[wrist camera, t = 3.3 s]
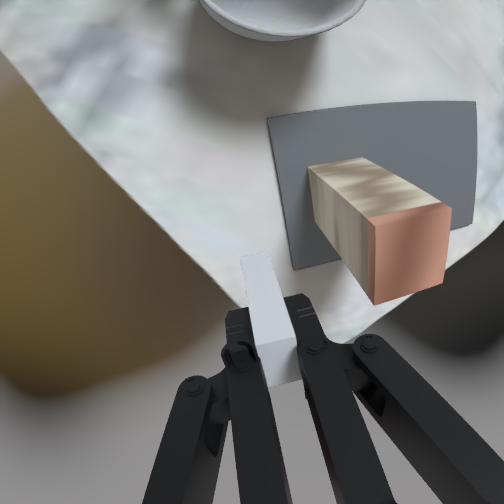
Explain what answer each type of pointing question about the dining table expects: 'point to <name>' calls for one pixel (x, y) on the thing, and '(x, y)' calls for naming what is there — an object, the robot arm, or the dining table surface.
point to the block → (381, 227)
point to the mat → (375, 159)
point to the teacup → (281, 16)
